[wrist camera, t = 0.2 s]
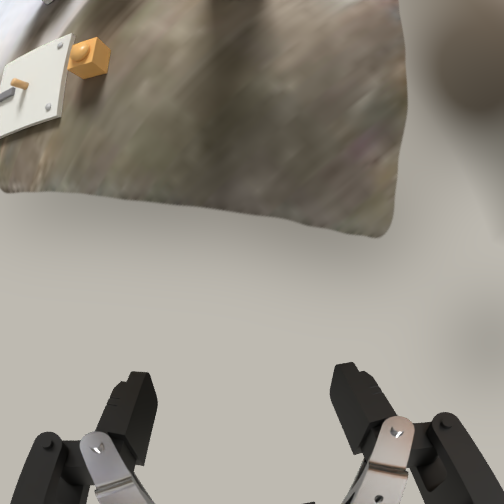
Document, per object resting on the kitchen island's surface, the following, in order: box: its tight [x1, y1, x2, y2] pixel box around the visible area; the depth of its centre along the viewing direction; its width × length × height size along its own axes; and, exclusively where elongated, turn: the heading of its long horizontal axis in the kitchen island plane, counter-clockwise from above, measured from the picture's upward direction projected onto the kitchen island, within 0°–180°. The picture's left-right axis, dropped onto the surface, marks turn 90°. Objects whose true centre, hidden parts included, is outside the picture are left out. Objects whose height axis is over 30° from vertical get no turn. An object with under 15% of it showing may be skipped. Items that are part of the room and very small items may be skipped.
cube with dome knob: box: [67, 37, 111, 79], centre depth 26 cm, size 4×4×6 cm
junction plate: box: [0, 33, 76, 139], centre depth 25 cm, size 16×18×6 cm
